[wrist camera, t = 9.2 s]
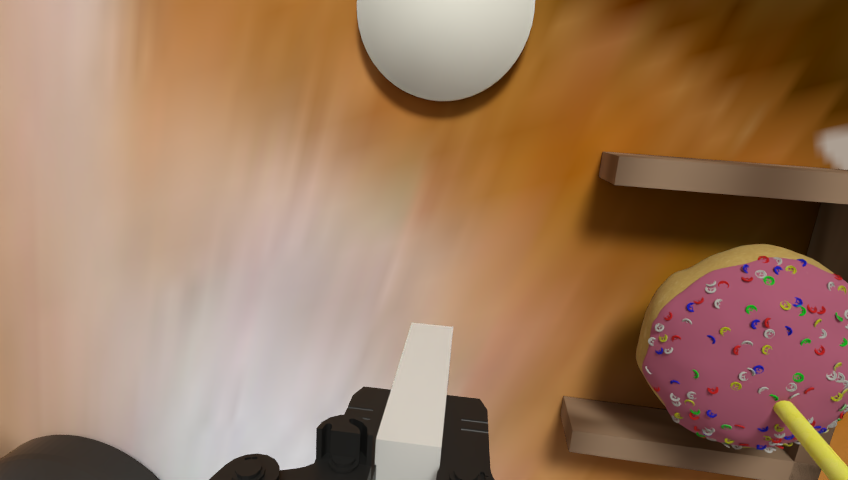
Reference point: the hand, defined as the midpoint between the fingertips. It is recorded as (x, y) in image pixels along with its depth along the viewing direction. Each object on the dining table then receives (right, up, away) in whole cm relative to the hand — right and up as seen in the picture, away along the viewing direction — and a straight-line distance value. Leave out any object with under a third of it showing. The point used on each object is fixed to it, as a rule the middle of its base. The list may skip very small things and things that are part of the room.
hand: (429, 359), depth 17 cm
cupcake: (+14, +1, +7) cm, 15 cm away
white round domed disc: (+1, +15, +5) cm, 16 cm away
